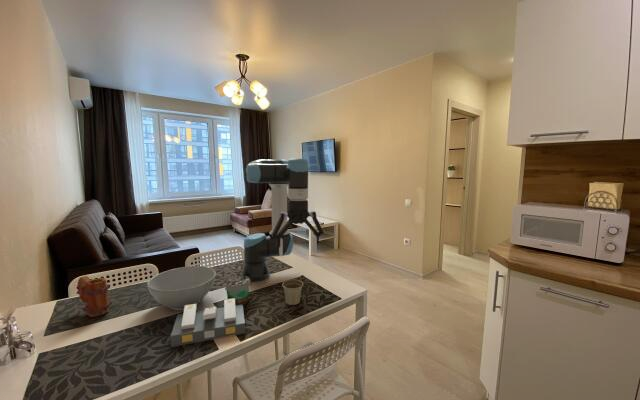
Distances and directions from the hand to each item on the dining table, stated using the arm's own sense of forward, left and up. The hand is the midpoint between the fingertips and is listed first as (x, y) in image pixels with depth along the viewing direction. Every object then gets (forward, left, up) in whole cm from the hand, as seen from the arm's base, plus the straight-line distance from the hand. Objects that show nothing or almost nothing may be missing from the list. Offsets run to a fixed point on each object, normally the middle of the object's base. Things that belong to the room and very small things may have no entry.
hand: (298, 253), depth 104 cm
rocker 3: (-4, -26, -21) cm, 33 cm away
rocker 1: (-4, -40, -21) cm, 45 cm away
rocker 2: (-4, -33, -21) cm, 39 cm away
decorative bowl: (-28, -45, -27) cm, 59 cm away
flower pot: (-14, +1, -27) cm, 31 cm away
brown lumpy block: (-31, -79, -27) cm, 89 cm away
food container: (-20, -21, -27) cm, 40 cm away
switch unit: (-4, -33, -27) cm, 43 cm away
